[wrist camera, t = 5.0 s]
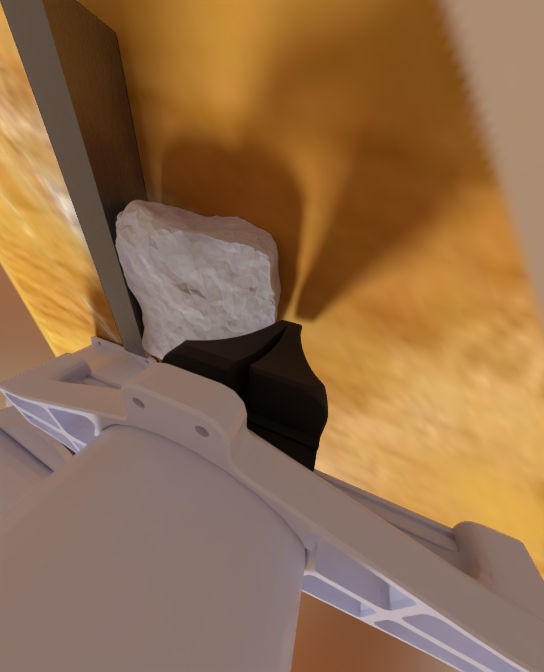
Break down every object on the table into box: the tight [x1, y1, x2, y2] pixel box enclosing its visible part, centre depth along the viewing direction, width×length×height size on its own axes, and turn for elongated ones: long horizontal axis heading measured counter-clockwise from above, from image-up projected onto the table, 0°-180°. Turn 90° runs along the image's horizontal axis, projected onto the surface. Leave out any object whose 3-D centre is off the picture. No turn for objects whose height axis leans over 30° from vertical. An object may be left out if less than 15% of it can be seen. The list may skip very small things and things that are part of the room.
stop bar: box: [0, 0, 152, 359], centre depth 13 cm, size 2×18×3 cm, turn 174°
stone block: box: [115, 200, 281, 360], centre depth 14 cm, size 12×5×10 cm
